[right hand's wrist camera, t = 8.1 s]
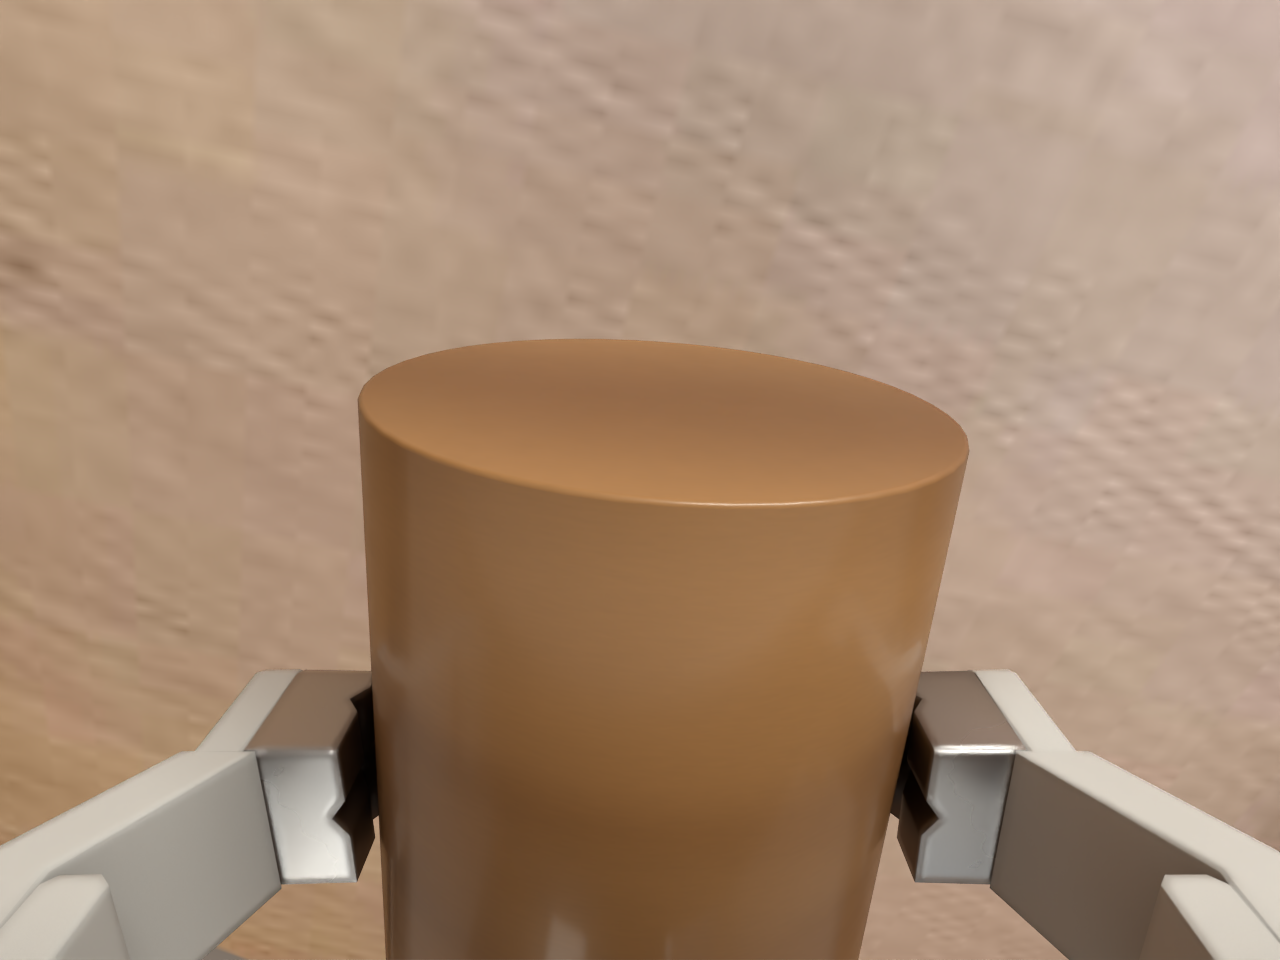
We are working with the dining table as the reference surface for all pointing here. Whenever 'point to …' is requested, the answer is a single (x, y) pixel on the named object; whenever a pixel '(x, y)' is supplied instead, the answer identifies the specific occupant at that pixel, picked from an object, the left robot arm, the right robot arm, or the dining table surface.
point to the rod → (643, 645)
